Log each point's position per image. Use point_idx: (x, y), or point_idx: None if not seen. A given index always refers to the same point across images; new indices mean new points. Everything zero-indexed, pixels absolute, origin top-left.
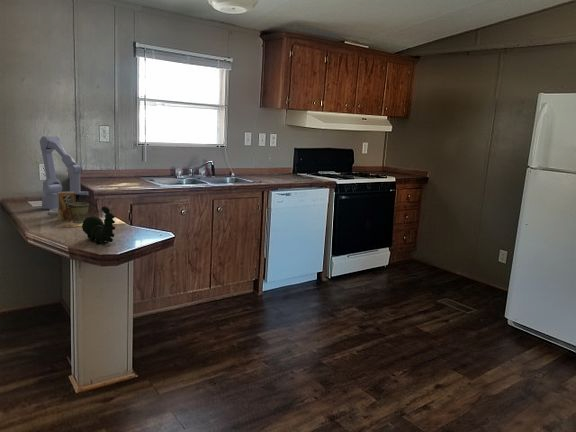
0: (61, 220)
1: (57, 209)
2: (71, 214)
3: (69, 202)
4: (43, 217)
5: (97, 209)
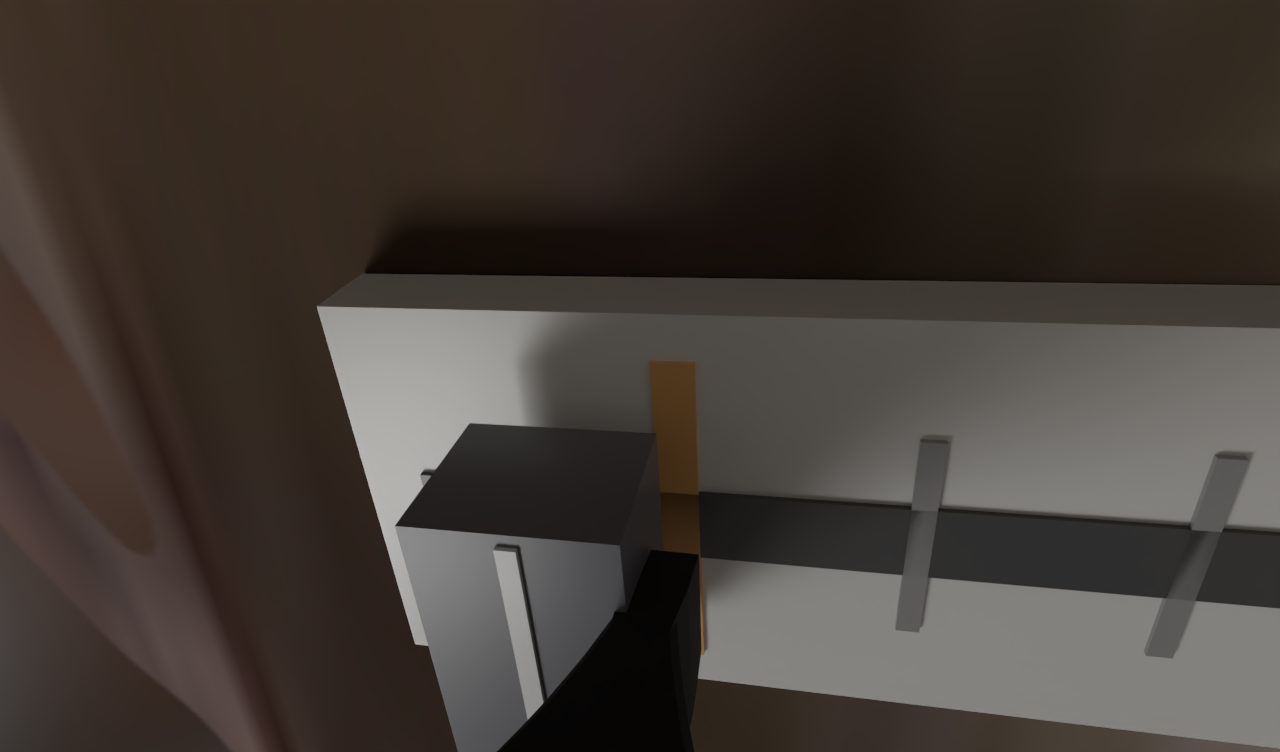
0: None
1: (1247, 737)
2: None
3: None
4: None
5: (247, 674)
